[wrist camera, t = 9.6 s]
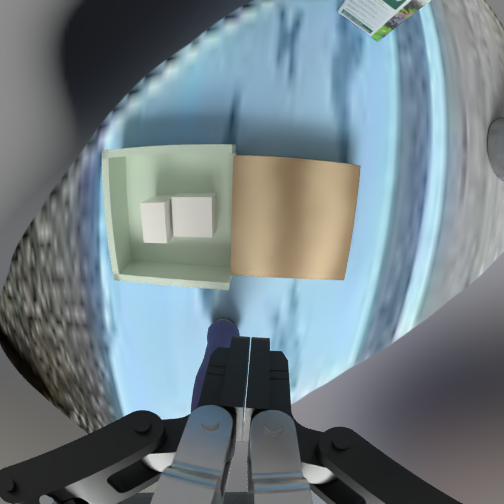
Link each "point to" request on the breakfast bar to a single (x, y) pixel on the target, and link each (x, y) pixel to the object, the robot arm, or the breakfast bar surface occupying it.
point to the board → (292, 217)
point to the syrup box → (379, 14)
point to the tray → (168, 183)
